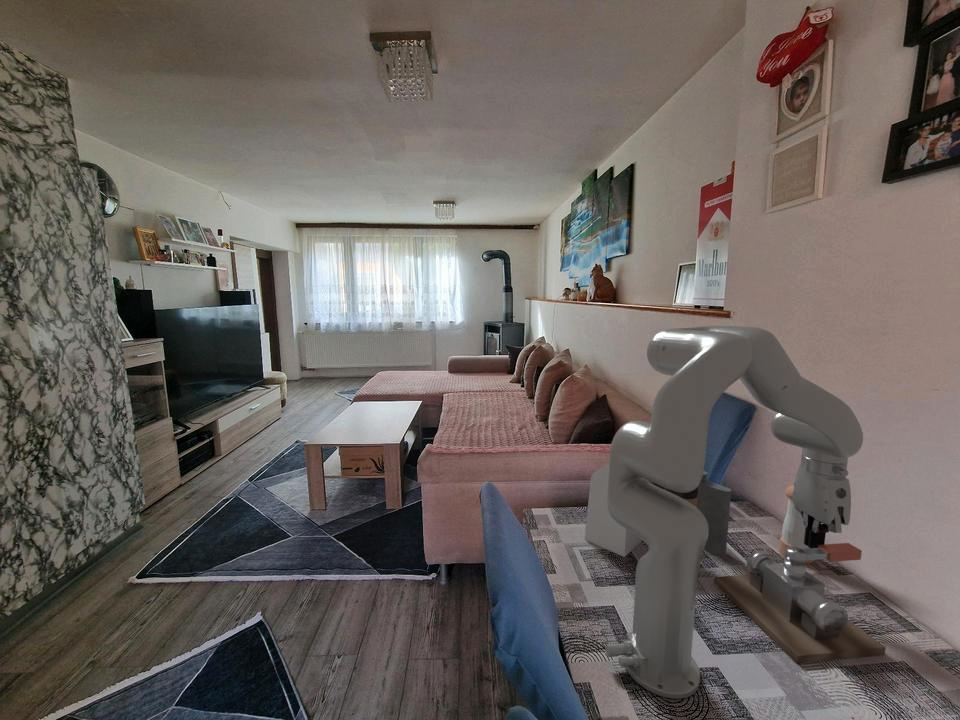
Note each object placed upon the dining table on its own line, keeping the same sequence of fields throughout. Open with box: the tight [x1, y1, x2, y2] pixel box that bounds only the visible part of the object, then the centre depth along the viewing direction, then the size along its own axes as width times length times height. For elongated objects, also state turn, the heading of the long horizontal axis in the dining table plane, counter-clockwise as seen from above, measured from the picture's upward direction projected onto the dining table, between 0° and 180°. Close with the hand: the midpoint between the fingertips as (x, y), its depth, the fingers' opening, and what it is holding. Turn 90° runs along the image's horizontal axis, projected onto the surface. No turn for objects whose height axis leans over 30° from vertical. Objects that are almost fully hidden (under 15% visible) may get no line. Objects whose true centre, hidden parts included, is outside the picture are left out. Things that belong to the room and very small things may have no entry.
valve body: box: [746, 549, 849, 640], centre depth 85 cm, size 7×18×10 cm, turn 7°
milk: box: [584, 461, 643, 558], centre depth 112 cm, size 12×12×26 cm
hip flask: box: [697, 470, 732, 557], centre depth 112 cm, size 16×4×20 cm, turn 28°
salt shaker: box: [778, 484, 815, 564], centre depth 105 cm, size 7×7×19 cm
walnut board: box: [713, 573, 886, 664], centre depth 85 cm, size 18×22×2 cm
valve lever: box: [785, 542, 863, 565], centre depth 84 cm, size 15×3×2 cm, turn 97°
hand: (813, 546), depth 90 cm, fingers closed
